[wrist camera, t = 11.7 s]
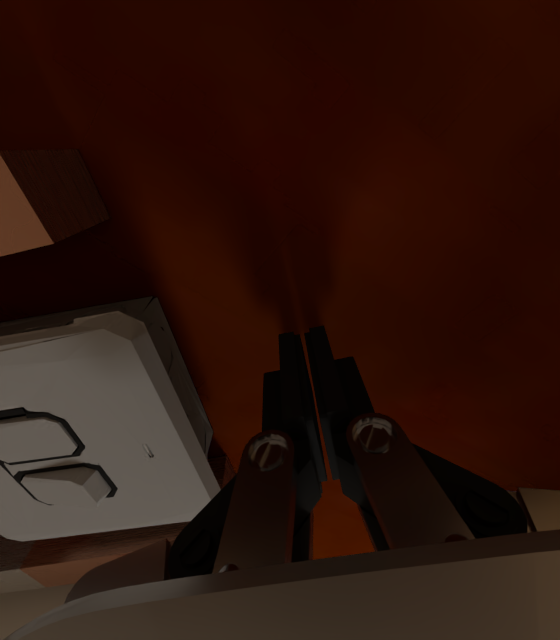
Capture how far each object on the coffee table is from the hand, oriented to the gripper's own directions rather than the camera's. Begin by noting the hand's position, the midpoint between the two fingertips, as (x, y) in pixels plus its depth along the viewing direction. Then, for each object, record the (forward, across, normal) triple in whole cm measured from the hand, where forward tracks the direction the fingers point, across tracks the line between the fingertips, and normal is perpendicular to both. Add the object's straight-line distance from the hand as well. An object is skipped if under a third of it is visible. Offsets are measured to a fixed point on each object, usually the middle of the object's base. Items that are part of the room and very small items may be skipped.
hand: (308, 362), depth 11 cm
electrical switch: (0, +13, 0) cm, 13 cm away
